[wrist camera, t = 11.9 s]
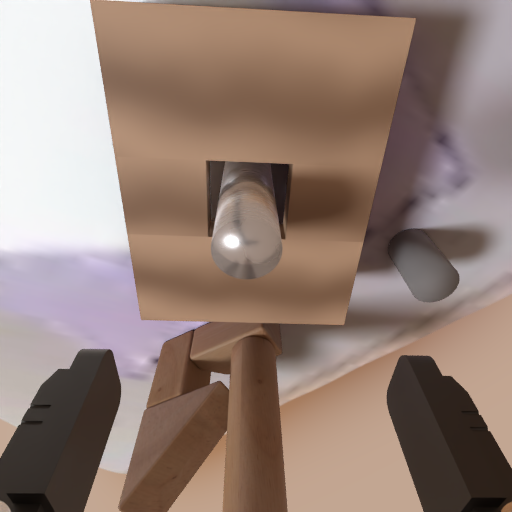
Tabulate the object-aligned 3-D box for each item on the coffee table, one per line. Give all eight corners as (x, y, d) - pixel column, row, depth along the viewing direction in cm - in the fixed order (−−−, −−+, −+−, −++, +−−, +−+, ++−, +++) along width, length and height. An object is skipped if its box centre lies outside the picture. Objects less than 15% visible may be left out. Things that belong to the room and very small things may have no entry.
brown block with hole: (129, 5, 21) (89, -1, 16) (376, 19, 21) (416, 18, 16) (159, 269, 30) (141, 319, 25) (328, 275, 31) (343, 324, 26)
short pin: (393, 228, 28) (418, 263, 24) (434, 229, 29) (466, 265, 24) (384, 262, 30) (406, 301, 26) (422, 263, 30) (450, 302, 26)
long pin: (224, 143, 25) (210, 216, 16) (272, 145, 25) (285, 219, 16) (224, 188, 26) (211, 278, 17) (268, 190, 27) (279, 280, 17)
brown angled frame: (161, 341, 35) (93, 590, 19) (262, 297, 32) (273, 546, 17) (184, 364, 36) (137, 610, 21) (281, 324, 34) (307, 572, 19)
